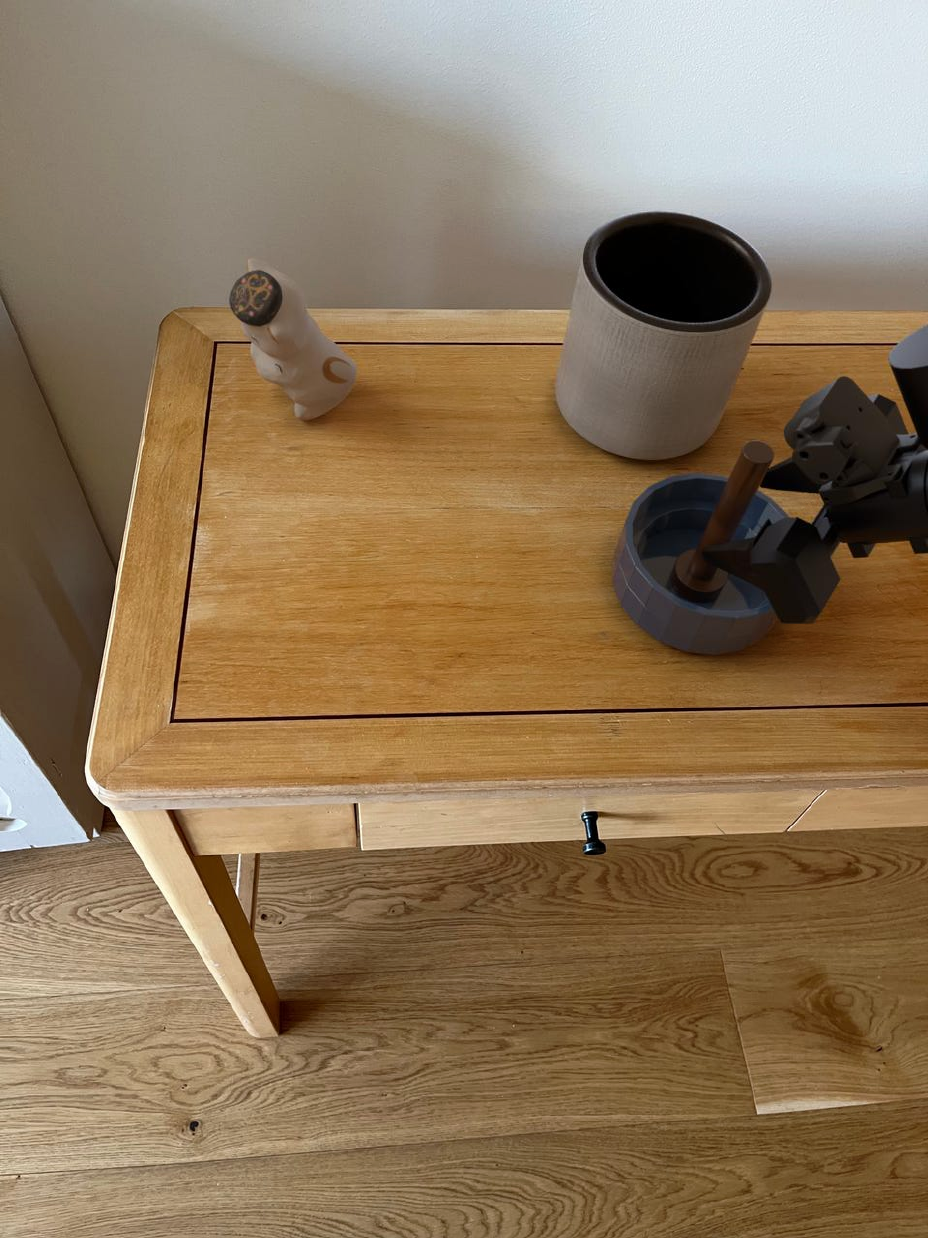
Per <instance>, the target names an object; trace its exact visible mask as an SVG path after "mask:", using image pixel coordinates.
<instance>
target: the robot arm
mask: <svg viewBox="0 0 928 1238" xmlns="http://www.w3.org/2000/svg"><path fill="white" fill-rule="evenodd" d="M887 360H888V364H889V366H890V369H891V371H892V374H893V376H894V379H895V381H896V384H897V386H898V389H899V391H900V394H901V397H902V399H903V402H904V404H905V407H906V410H907V412H908V415H909V417H910V420H911V422H912V425H913V427H914V430H915V432H914V433H909V432H908V429H907V427H906V424H905V421H904V419H903V416H902V414H901V411H900V409H899V406H898V404H897V402H896V401H894V400H892V399H890V398H888V397H886V396H884V395H882V394H880V393H878V394H877V393H876V394H873V395H867V394H866V393H865V392H864V391H863V390H862V388H860V386H858V384H857V383H856V382H855V381H854V380H853V379H852V378H850V377H848V376H846V375H842V376H839V377H838V378H835V380H833V381H832V382H830V383H829V384H827V385H825V386H824V387H822V388H821V389H819V390H818V391H816V392H814V393H813V394H811V395H810V396H808V397H807V398H805V399H803V400H802V402H801V403H800V406H799V408H798V409H797V410H796V412H795V413H794V414H793V416H792V417H791V419H789V420H788V421H787V422H786V424H785V425H784V428H783V437H784V440H785V442H786V443H787V445H788V446H789V447H790V449H792V453H791V456H790V457H788V458H785V460H782V461H780V462H778V463H776V464H775V465H772V466H769V468H768V470H767V472H766V474H765V476H764V478H763V480H762V482H761V484H760V486H759V488H761V489H767V490H772V491H773V490H774V491H778V492H779V491H780V492H791V493H804V494H817V495H819V497H820V498H821V501H822V503H823V505H822V506H821V508H820V509H819V511H818V512H817V514H816V516H815V517H814V519H813V520H812V522H811V523H810V522H808V521H806V520H804V519H803V518H801V517H799V516H794V517H793V516H792V517H790V518H783V519H781V520H779V521H777V522H776V523H774V524H772V523H771V521H770V519H767V520H766V522H765V523H764V525H763V526H762V528H761V529H760V530H759V532H758V533H757V535H756V536H755V537H753V538H748V539H742V540H737V541H732V542H727V543H722V544H717V545H714V546H710V547H707V548H704V549H703V550H702V555H703V557H704V559H705V561H706V562H707V563H709V564H711V565H713V566H715V567H717V568H719V569H721V570H724V571H726V572H728V573H730V574H732V575H734V576H736V577H738V578H740V579H742V580H744V581H746V582H748V583H750V584H752V585H754V586H756V587H757V588H759V589H761V590H762V591H764V592H765V594H766V596H767V598H768V600H769V602H770V604H771V606H772V607H773V609H774V611H775V613H776V615H777V617H778V622H779V623H780V624H782V625H814V623H815V622H816V620H817V619H818V618H819V616H820V615H821V613H822V612H823V610H824V608H825V607H826V605H827V603H828V601H829V600H830V598H831V597H832V595H833V594H834V592H835V590H836V588H837V586H838V585H839V583H840V581H841V580H842V579H841V577H840V575H839V573H838V570H837V568H836V566H835V564H834V561H833V560H832V557H833V556H834V554H835V552H836V550H837V549H838V547H839V546H840V545H841V544H846V545H847V548H848V550H849V552H850V554H851V556H852V558H853V559H864V558H869V556H870V554H871V553H872V551H873V550H874V548H875V546H876V544H888V543H889V544H890V543H902V542H909V544H910V547H911V549H912V552H913V554H914V555H921V554H922V555H924V554H928V324H926V325H924V326H922V327H920V328H918V329H917V330H915V331H913V332H911V333H910V334H908V335H907V336H906V337H904V338H903V339H902V340H901V341H900V342H898V343H897V344H896V345H895V346H894V347H893V349H892V350H891V351H890V353H889V355H888V359H887Z"/></svg>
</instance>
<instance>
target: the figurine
mask: <svg viewBox="0 0 928 1238" xmlns="http://www.w3.org/2000/svg"><path fill="white" fill-rule="evenodd" d="M228 303H229V307H230V310H231V312H232V313H233V315H234V316H235V317H236V319H237V320H239V321H240V326H241V331H242V332H243V334H244V336H245V337H246V338H247V339H248V341H250V342H251V343H250V347H249V348H250V351H249V353H250V356H251V359H252V361H253V362H254V364H255V367H256V370H257V374H258V375H259V377H261V378H262V379H263V380H265V381H266V382H269V383H272V384H274V385H276V386H279V387H280V388H281V389H282V390H283V391H284V392H285V394H286V395H287V396H288V398H290V399H291V401H294V402H295V403H294V408H293V411H294V416H295V417H296V418H297V419H298V420H300V421H310V420H313V419H315V418H318V417H320V416H322V415H324V414H326V413H328V412H329V411H331V410H333V409H334V408H336V407H337V406H338V405H340V404H341V403H342V402H343V401H344V400H345V399H346V397H347V396H348V395H349V394H350V393H351V391H352V389H353V387H354V385H355V383H356V380H357V377H358V370H357V368H358V367H357V365H356V362H355V361H354V360H353V359H352V358H351V357H350V356H348V355H347V354H346V353H345V352H344V351H343V349H342V348H341V347H340V346H339V345H338V344H336V342H335V341H333V340H332V339H330V338H329V337H327V336H326V335H325V334H324V333H323V332H322V330H321V329H320V327H319V325H318V323H317V322H316V320H315V319H314V318H313V317H312V315H311V314H309V312H308V308H307V307H308V306H307V301H306V297H305V295H304V293H303V291H302V289H301V288H300V287H299V285H298V284H297V283H296V282H295V281H294V280H293V279H291V278H290V277H289V276H287V275H286V274H284V273H282V272H280V271H278V270H276V269H274V268H273V267H271V266H269V265H268V264H267V263H265V262H264V261H262V260H260V259H258V258H255V257H251V258H248V259H247V264H246V273H245V274H243V275H242V276H241V277H239V278H237V280H236V281H235V282H234V284H233V286H232V288H231V290H230V293H229V298H228Z"/></svg>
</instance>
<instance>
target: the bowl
mask: <svg viewBox="0 0 928 1238" xmlns="http://www.w3.org/2000/svg"><path fill="white" fill-rule="evenodd" d="M728 479H729V477H728V476H725V475H720V474H711V473H701V472H691V473H685V474H678V475H677V474H676V475H671V476H669V477H666V478H664V479H662V480H660V481H658V482H655V483H653V484H651V485H649V486H648V487H647V488H645V490H643V492H642V493H641V494H639V496H637V498H636V499H634V501H633V502H632V505H631V507H630V509H629V512H628V514H627V516H626V519H625V522H624V524H623V527H622V530H621V533H620V536H619V539H618V542H617V545H616V548H615V551H614V554H613V557H612V559H611V582H612V587H613V588H614V592H615V594H616V596H617V599H618V601H619V603H620V604H619V605H620V606H621V607H622V609H623V610H624V611H625V612H626V613H627V615H628V616H629V617H630V619H632V621H633V622H634V623H635V625H636V626H637V627H638V628H640V629H641V630H643V631H644V632H646V633H647V634H649V636H652V637H653V638H654V639H656V640H657V641H658V642H660V643H662V644H665V645H667V646H670V647H673V648H674V649H678V650H680V651H683V652H686V653H692V654H693V653H694V654H703V655H711V656H718V655H724V654H729V653H735V652H739V651H740V652H741V651H743V650H745V649H747V648H748V647H750V646H752V645H754V644H756V643H758V642H759V641H761V640H763V639H764V637H765V636H766V635H767V634H768V632H770V630H772V628H773V627H774V625H775V624H776V623H777V621H779V619H778V617H777V615H776V613H775V611H774V609H773V607H772V606H771V604H770V602H769V600H768V598H767V596H766V594H765V592H764V591H762V590H761V589H759V588H757V587H756V586H754V585H752V584H750V583H748V582H746V581H744V580H742V579H740V578H738V577H736V576H734V575H732V574H730V573H728V579H727V582H726V584H725V586H724V588H723V589H722V591H721V593H720V595H719V596H718V597H717V598H715V599H714V600H712V601H709V602H703V603H699V602H693V601H690V600H687V599H685V598H684V597H682V596H681V595H679V594H678V593H677V592H676V590H675V589H674V588H673V586H672V583H671V579H670V575H671V571H672V569H673V566H674V564H675V562H676V560H677V558H678V556H679V555H680V554H682V553H683V552H685V551H687V550H691V549H696V548H697V546H698V544H699V542H700V540H701V538H702V535H703V533H704V531H705V529H706V527H707V525H708V522H709V520H710V518H711V516H712V514H713V512H714V509H715V507H716V505H717V503H718V501H719V498H720V496H721V494H722V492H723V490H724V488H725V485H726V483H727V481H728ZM783 518H791V516H790V515H789V514H788V513H787V512H786V511H785V510H784V509H783V508H782V507H781V506H780V505H779V504H778V502H776V501H775V500H774V499H773V498H772V497H770V496H768V495H767V494H765V493H764V492H762V491H760V490H759V489H758V490H757V492H756V494H755V496H754V498H753V500H752V502H751V504H750V506H749V508H748V510H747V512H746V514H745V516H744V518H743V520H742V522H741V524H740V526H739V528H738V530H737V532H736V534H735V536H734V537H733V539H732V541H737V540H742V539H748V538H753V537H755V536H756V535H757V533H758V532H759V530H760V529H761V528H762V526H763V525H764V523H765V522H766V520H767V519H770V521H771V523H772V524H774V523H776V522H777V521H779V520H781V519H783ZM732 541H731V542H732Z"/></svg>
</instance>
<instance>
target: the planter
mask: <svg viewBox="0 0 928 1238" xmlns="http://www.w3.org/2000/svg"><path fill="white" fill-rule="evenodd" d="M574 286H575V287H574V291H573V296H572V300H571V305H570V309H569V315H568V320H567V324H566V328H565V332H564V337H563V342H562V345H561V351H560V355H559V360H558V365H557V369H556V374H555V382H554V383H555V385H554V395H555V400H556V404H557V407H558V410H559V411H560V414H561V415H562V417H563V418H564V420H565V421H566V423H567V424H568V425H569V427H571V428H572V429H573V431H575V432H576V433H577V434H578V435H579V436H581V437H582V438H583V439H584V440H585V441H587V442H589V443H590V444H592V445H594V446H595V447H598V448H600V449H601V450H604V451H606V452H608V453H610V454H613V455H617V456H621V457H625V458H628V459H634V460H643V461H645V460H646V461H647V460H648V461H659V460H667V459H674V458H678V457H681V456H685V455H687V454H689V453H692V452H694V451H695V450H697V449H699V448H700V447H701V446H703V445H704V444H705V443H707V442H708V441H709V439H711V437H712V436H713V435H714V434H715V432H716V430H717V428H718V427H719V425H720V423H721V421H722V418H723V417H724V414H725V411H726V409H727V407H728V404H729V403H730V399H731V396H732V394H733V392H734V389H735V386H736V383H737V382H738V379H739V376H740V373H741V371H742V368H743V365H744V364H745V361H746V358H747V356H748V353H749V351H750V348H751V346H752V343H753V340H754V338H755V335H756V333H757V330H758V328H759V326H760V323H761V321H762V318H763V316H764V313H765V311H766V308H767V306H768V304H769V302H770V299H771V296H772V292H773V281H772V277H771V272H770V270H769V267H768V265H767V263H766V261H765V259H764V257H762V255H761V254H760V252H759V251H758V250H757V249H756V248H755V247H754V246H753V245H752V244H751V243H750V242H749V241H747V240H746V239H745V238H744V237H742V236H741V235H740V234H738V233H736V232H735V231H734V230H732V229H730V228H728V227H726V226H724V225H722V224H720V223H718V222H716V221H714V220H710V219H708V218H704V217H701V216H698V215H694V214H690V213H685V212H679V211H672V210H644V211H636V212H630V213H626V214H623V215H620V216H617V217H614V218H612V219H610V220H608V221H606V222H604V223H603V224H601V225H600V226H599V227H598V228H596V229H595V230H593V232H592V233H591V234H590V236H589V237H588V239H587V240H586V241H585V244H584V246H583V249H582V253H581V258H580V263H579V268H578V272H577V277H576V281H575V285H574Z"/></svg>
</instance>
